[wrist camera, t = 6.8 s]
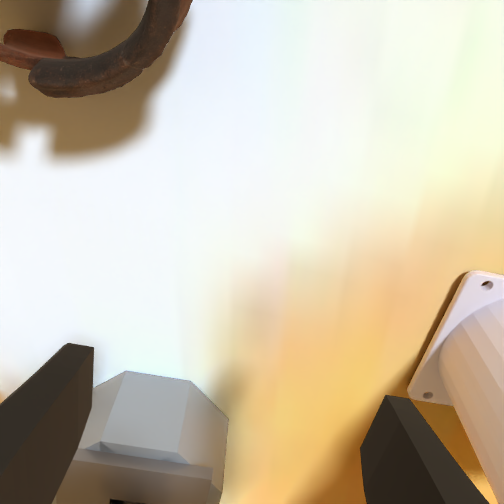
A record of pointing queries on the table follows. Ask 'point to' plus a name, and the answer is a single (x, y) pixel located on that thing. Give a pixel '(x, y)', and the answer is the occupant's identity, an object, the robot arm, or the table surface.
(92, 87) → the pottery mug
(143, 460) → the gray faceted block
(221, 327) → the table surface
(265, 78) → the table surface
